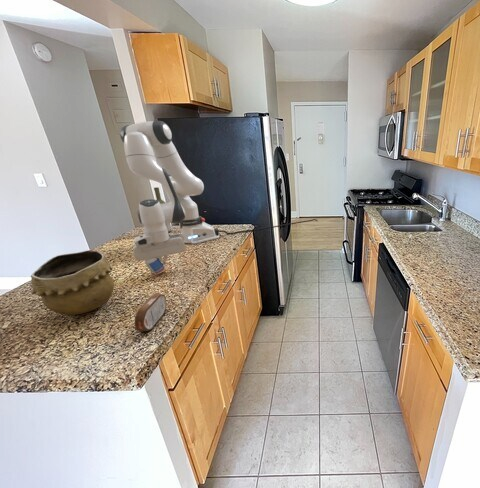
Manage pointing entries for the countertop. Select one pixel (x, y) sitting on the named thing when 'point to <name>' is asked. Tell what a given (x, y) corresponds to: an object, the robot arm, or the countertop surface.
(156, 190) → the bottle
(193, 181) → the robot arm
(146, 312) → the brown oval clock
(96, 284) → the clay pot
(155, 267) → the pill bottle
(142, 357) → the countertop surface
